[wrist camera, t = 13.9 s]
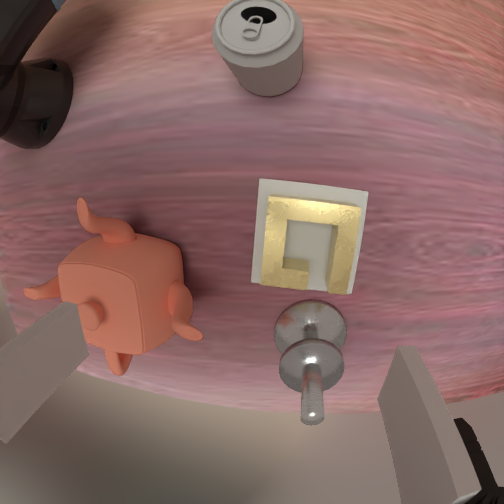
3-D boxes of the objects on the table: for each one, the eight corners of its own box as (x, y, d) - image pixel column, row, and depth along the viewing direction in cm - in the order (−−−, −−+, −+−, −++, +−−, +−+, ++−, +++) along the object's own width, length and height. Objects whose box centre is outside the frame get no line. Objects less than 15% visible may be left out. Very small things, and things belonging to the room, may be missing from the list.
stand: (279, 295, 35) (265, 374, 21) (351, 303, 34) (378, 383, 20) (271, 355, 38) (255, 441, 23) (336, 362, 36) (347, 448, 22)
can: (309, 50, 27) (313, -4, 15) (292, 105, 29) (289, 70, 18) (247, 36, 27) (223, -17, 16) (228, 90, 30) (193, 52, 18)
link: (271, 193, 31) (268, 196, 28) (353, 203, 30) (361, 207, 27) (264, 271, 34) (260, 284, 30) (341, 280, 33) (346, 294, 29)
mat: (260, 178, 32) (259, 178, 31) (367, 191, 30) (368, 191, 30) (251, 280, 35) (250, 282, 35) (350, 292, 34) (351, 294, 33)
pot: (144, 181, 34) (78, 189, 22) (232, 289, 36) (201, 343, 24) (74, 265, 39) (17, 294, 27) (144, 352, 41) (103, 402, 29)
